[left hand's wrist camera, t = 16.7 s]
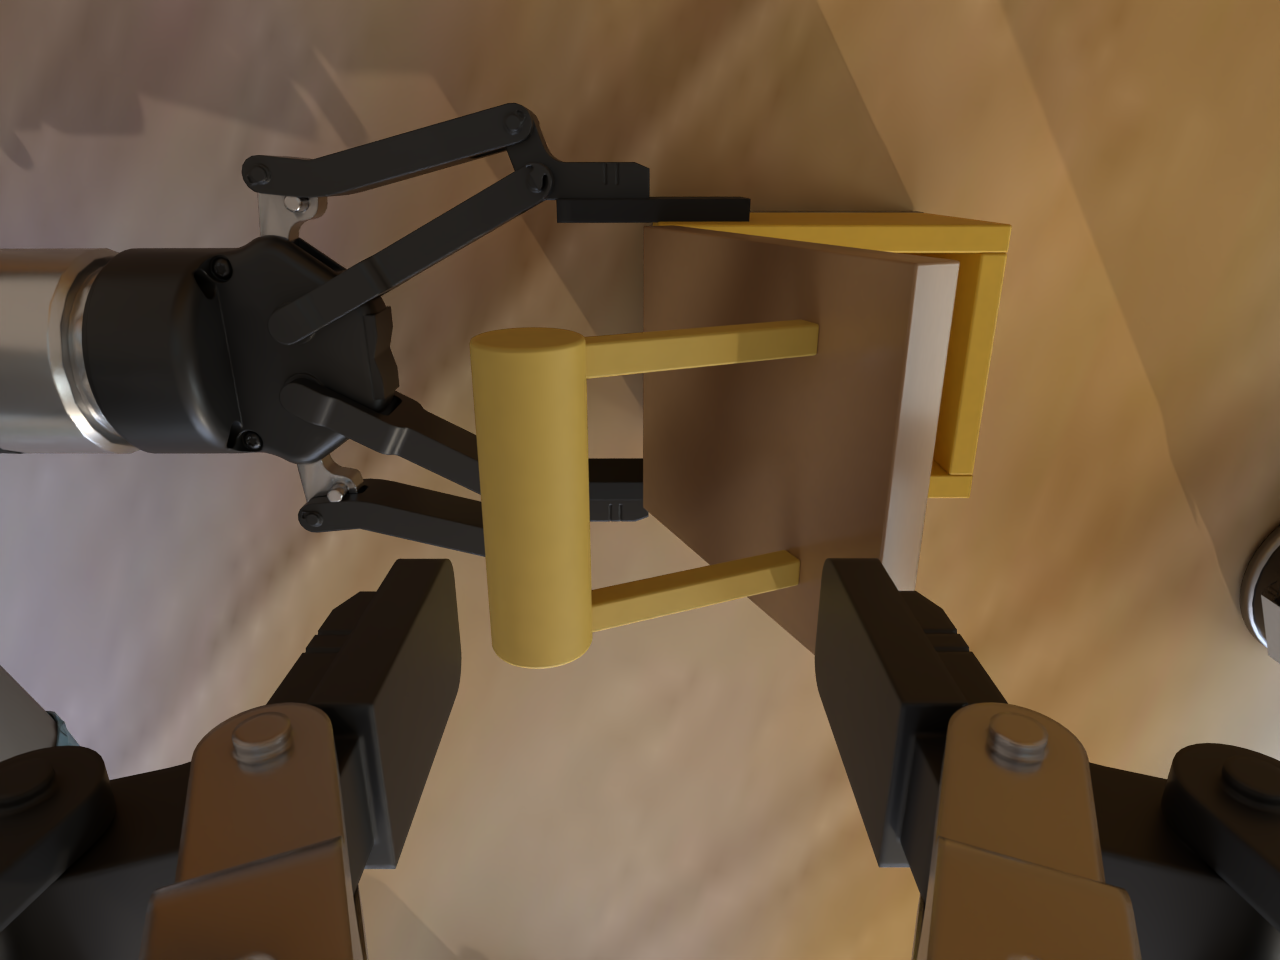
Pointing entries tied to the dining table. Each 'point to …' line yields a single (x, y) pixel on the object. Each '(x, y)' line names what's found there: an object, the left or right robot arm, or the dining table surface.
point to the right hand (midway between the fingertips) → (738, 351)
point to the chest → (972, 314)
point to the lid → (719, 434)
